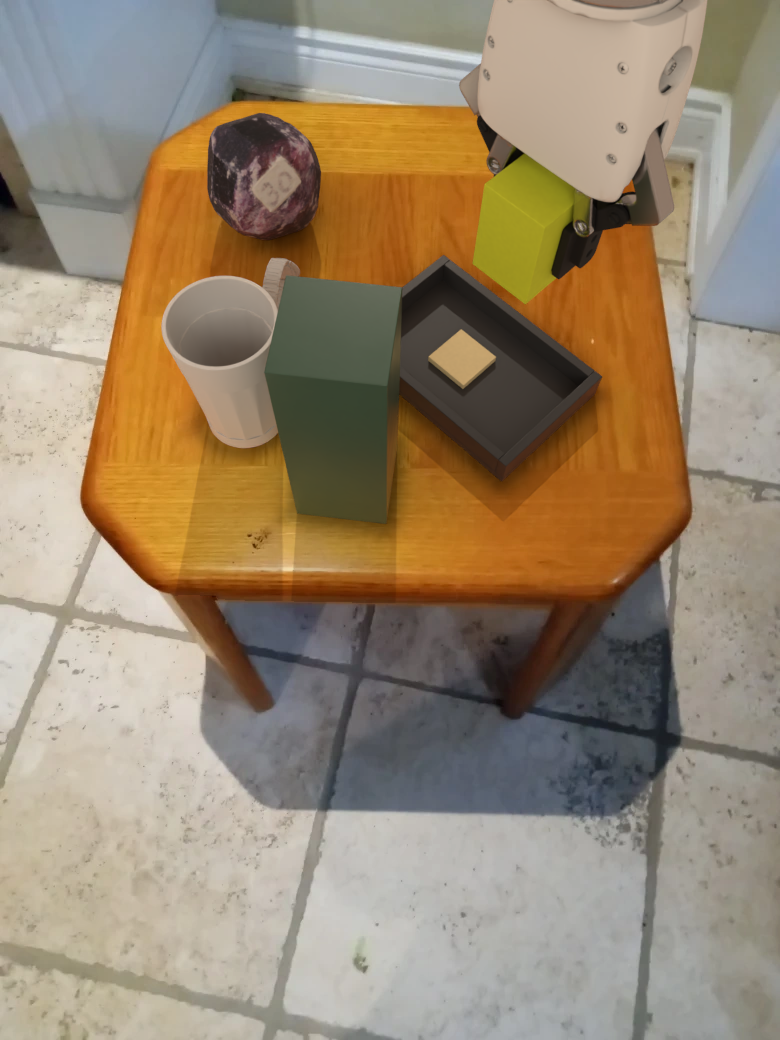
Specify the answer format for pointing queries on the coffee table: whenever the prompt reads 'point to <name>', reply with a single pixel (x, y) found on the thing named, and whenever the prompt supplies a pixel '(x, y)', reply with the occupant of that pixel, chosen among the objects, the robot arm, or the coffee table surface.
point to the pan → (487, 370)
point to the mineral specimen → (263, 176)
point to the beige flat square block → (462, 358)
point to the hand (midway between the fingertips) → (538, 238)
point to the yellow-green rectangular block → (522, 226)
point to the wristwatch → (278, 277)
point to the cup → (225, 354)
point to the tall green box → (337, 394)
